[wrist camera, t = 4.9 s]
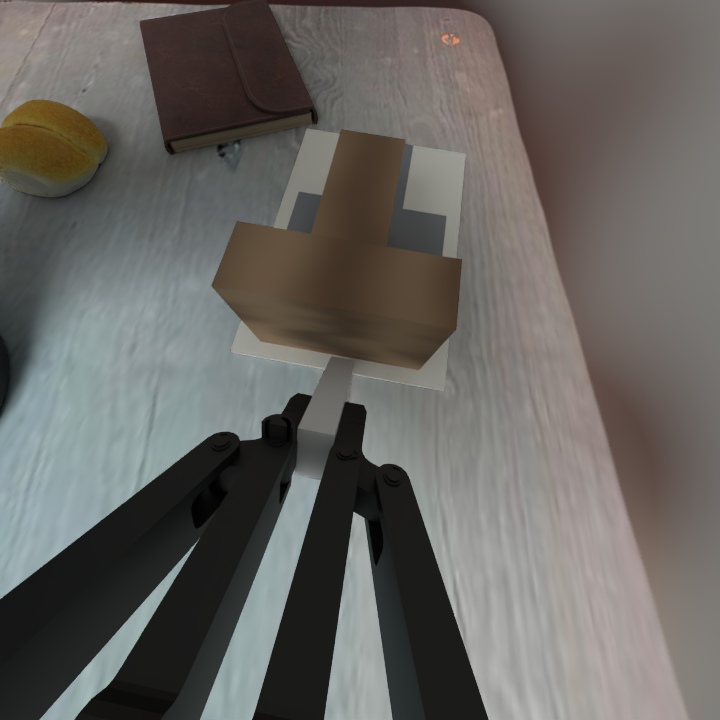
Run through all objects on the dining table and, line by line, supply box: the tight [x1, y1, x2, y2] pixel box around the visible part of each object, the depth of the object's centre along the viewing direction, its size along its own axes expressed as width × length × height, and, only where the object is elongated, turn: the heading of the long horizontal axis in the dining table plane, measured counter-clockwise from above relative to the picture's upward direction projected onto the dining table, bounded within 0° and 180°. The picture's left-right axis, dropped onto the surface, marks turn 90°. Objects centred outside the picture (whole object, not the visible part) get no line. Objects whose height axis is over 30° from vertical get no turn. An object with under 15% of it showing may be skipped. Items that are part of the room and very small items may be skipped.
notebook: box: [140, 0, 318, 155], centre depth 29 cm, size 15×20×2 cm
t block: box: [212, 130, 462, 370], centre depth 18 cm, size 12×12×8 cm
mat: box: [230, 128, 466, 391], centre depth 24 cm, size 16×24×1 cm, turn 170°
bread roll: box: [0, 100, 108, 197], centre depth 24 cm, size 8×9×4 cm
